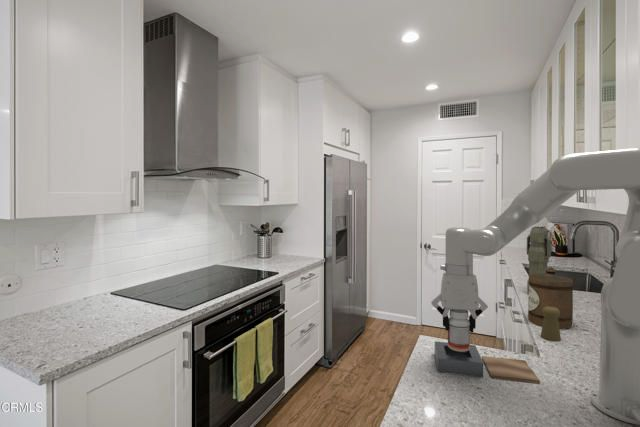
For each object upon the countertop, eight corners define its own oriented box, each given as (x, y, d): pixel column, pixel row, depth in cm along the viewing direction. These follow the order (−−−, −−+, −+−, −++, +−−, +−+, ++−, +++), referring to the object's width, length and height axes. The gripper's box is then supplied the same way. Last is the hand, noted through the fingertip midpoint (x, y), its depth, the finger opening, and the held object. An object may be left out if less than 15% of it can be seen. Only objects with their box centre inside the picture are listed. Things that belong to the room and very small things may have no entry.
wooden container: (529, 313, 148) (530, 263, 147) (571, 320, 140) (573, 266, 139) (526, 324, 136) (528, 269, 135) (573, 332, 128) (575, 273, 127)
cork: (564, 342, 119) (565, 310, 119) (544, 340, 120) (545, 309, 120) (556, 335, 125) (556, 305, 124) (537, 334, 126) (538, 304, 126)
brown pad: (539, 383, 92) (539, 380, 92) (491, 378, 95) (491, 375, 95) (524, 362, 104) (525, 360, 104) (481, 358, 107) (481, 356, 107)
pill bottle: (452, 342, 107) (452, 305, 107) (473, 347, 103) (473, 310, 102) (444, 348, 102) (444, 310, 102) (465, 354, 98) (465, 315, 98)
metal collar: (483, 377, 96) (483, 363, 96) (437, 371, 99) (437, 358, 99) (474, 357, 107) (475, 345, 107) (434, 353, 110) (434, 341, 110)
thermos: (545, 299, 170) (547, 228, 168) (520, 293, 180) (522, 226, 178) (554, 296, 174) (556, 227, 173) (530, 291, 184) (532, 225, 183)
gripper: (429, 271, 100) (429, 332, 101) (494, 273, 96) (493, 337, 97) (427, 266, 108) (427, 323, 108) (487, 268, 103) (487, 327, 104)
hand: (458, 329), depth 102 cm, fingers closed on pill bottle, 6 cm apart
